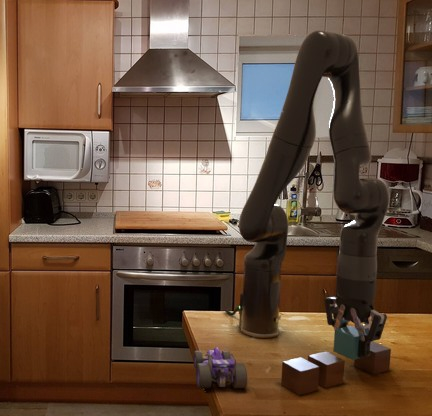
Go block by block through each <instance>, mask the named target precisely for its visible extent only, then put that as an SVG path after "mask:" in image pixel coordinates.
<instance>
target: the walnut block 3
mask: <svg viewBox="0 0 432 416" xmlns="http://www.w3.org/2000/svg"><path fill="white" fill-rule="evenodd" d="M391 355H392V348H390V347H388V346H386V345H383V344H380V343H378V342H375V341H371V342H370V356H367V357H365V358H359V359H355V360H353V366H354V367H356V368H357V369H360V370H362V371H365V372H366V373H369V374H370V375H373V376H374V375H378V374H381V373H386V372H389V371H390V368H391V366H390V365H391Z"/></svg>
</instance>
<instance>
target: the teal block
mask: <svg viewBox="0 0 432 416" xmlns="http://www.w3.org/2000/svg"><path fill="white" fill-rule="evenodd" d="M364 332H365V330H364ZM365 335H366V334H365ZM359 340H360V338H359V334H358V331H357V330H356V329H355V325H354V326H353V325H347V327H342V328H338V329H335V330H334V335H333V352H334V353H336V354H338V355H340V356H343V357H345V358H347V359H349V360H351V361H354V360H355V359H359V358H360V357H358V345H359ZM368 356H370V354H369V355H368Z"/></svg>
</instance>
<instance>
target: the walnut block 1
mask: <svg viewBox="0 0 432 416" xmlns="http://www.w3.org/2000/svg"><path fill="white" fill-rule="evenodd" d="M318 382H319V366H317V365H315V364H313V363H311V362H309V361H308V359H305V358H303V357H301V356H299V357H296V358H291V359H287V360H283V361H282V363H281V382H280V385H281V386H283V387H285V388H286V389H288V390H290V391H291V392H292V393H295V394H296V395H298V396H302V395H306V394H309V393H313V392H318V391H319V384H318Z"/></svg>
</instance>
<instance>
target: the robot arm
mask: <svg viewBox="0 0 432 416" xmlns="http://www.w3.org/2000/svg"><path fill="white" fill-rule="evenodd" d="M322 78H328V80H329V82H330V84H331V87H332V91H333V97H334V101H333V108H332V112H331V116H330V119H329V123H328V124H329V126H328V137H329V142H330V147H331V151H332V152H331V153H332V155H333V161H334V167H333V182H332V198H333V201H334V203H335V205H336V207H337V208H338V209H339V210H340V211H342V212H343V213H345V214H348V215H349V214H350V215H351V214H352V215H353V214H356V215H355V218H354V220H353V221H351V222H348V223H346V224H345V225H343V226H342V227H341V229H340V235H339V252H338V257H337V262H336V263H337V264H336V280H335V294H336V295H337V296H329V297H325V298H324V308H325V316H326V323H327V325H328V326H331V327H333V330H334V331H335V329H338V328H342V327H347V326H349V323H350V322H351V323H353V325H354V327H355V329H356V330H357V331H358V334H359V338H360V340H359V345H358V357H360V358H365V357H367V356H368V355H369V354H370V342H371V341H373V342H375V341H379V340H381V338H382V334H383V331H384V328H385V325H386V322H387V320H388V315H387V314H386V313H385V312H384V313H380V312H379V311H377V310H375V307H374V300H375V297H376V288H377V274H378V255H377V252H378V242H379V241H378V237H379V233H380V231H381V228H382V225H383V223H384V219H385V217H386V214H387V211H388V208H389V204H390V192H389V189H388V186H387V185H386V183H385V182H384V181H383V180H381V179H379V178H376V177H375V178H374V177H365V178H360V171H361V169H362V168H364V167H367V166H368V165H369V164H370V163H371V162H372V152H371V148H370V147H371V146H370V143H369V139H368V134H367V130H366V125H365V122H364V116H363V109H362V108H363V107H362V94H361V78H360V59H359V50H358V46H357V43H356V42H355V40H354V39H353V38H352V37H351V36H349V35H347V34H343V33H337V32H332V31H328V30H327V31H326V30H319V29H318V30H313V31H311V32H310V33H309V34H307V36H306V37H305V38H304V40H303V41H302V43H301V45H300V47H299V49H298V53H297V55H296V58H295V61H294V66H293V69H292V74H291V78H290V81H289V82H290V83H289V86H288V90H287V94H286V96H285V99H284V103H283V105H282V109H281V112H280V115H279V118H278V121H277V122H276V125H275V128H274V130H273V133H272V136H271V138H270V141H269V144H268V147H267V150H266V154H265V157H264V159H263V163H262V165H261V167H260V170H259V172H258V175H257V177H256V181H255V182H254V185H253V187H252V189H251V191H250V193H249V195H248V197H247V199H246V202H245V204H244V205H243V208H242V210H241V213H240V216H239V219H238V220H239V221H238V232H239V234H240V236H241V238H242V239H243V240H244V241H246V242H248V243H255V245H254V246H253V248H252V249H250V251H248V252H247V253H246V254H245V255H244V258H243V279H242V291H241V292H240V294H239V297H240V298H239V304H238V307H236V308H234V310H233V311H232V312H231V311H230V310H229V309H227V308H225V309H224V312H225V313H227V314H228V315H229V316H235V315H236V314H237V312H238V316H239V317H238V328H239V329H240V332H241V333H243V334H244V335H247V336H249V337H253V338H258V339H269V338H270V339H271V338H275V337H277V336H278V335H279V334H280V333H279V323H280V320H281V319H282V315H280V307H281V305H280V303H281V283H282V265H283V261H284V260H285V257H286V254H287V243H288V234H289V220H288V215H287V212H286V211H285V209H284V208H283V207H282V206H281V205H279V204H277V201H278V200H279V197H280V195H281V194H282V193H283V192H284V190H285V189H286V188H287V187H288V186H289V184H291V182H292V181H293V180H294V179H295V178H296V177H297V176H298V174H299V173H300V172H301V171H302V170H303V168H304V167H305V165H306V163H307V161H308V159H309V156H310V153H311V151H312V149H313V146H314V144H315V140H316V136H317V129H316V128H317V126H316V119H315V113H314V112H315V110H314V103H315V99H316V94H317V92H318V88H319V85H320V83H321V81H322ZM364 331H365V332H364ZM365 334H366V335H365Z"/></svg>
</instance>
